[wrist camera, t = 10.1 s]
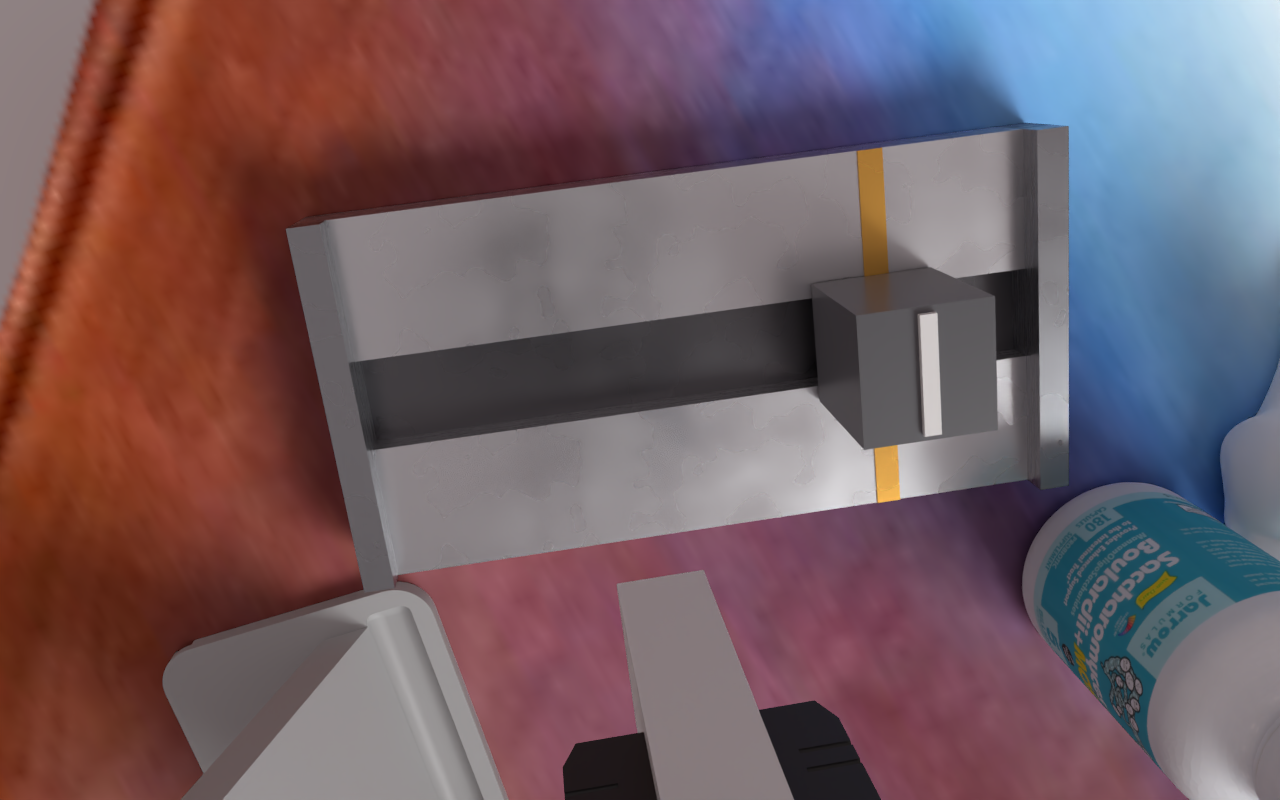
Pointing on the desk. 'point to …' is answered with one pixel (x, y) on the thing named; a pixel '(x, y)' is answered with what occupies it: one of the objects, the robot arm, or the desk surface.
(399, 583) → the phone holder
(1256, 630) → the pill bottle
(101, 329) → the desk surface
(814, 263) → the console
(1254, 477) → the figurine
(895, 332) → the block
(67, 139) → the desk surface
